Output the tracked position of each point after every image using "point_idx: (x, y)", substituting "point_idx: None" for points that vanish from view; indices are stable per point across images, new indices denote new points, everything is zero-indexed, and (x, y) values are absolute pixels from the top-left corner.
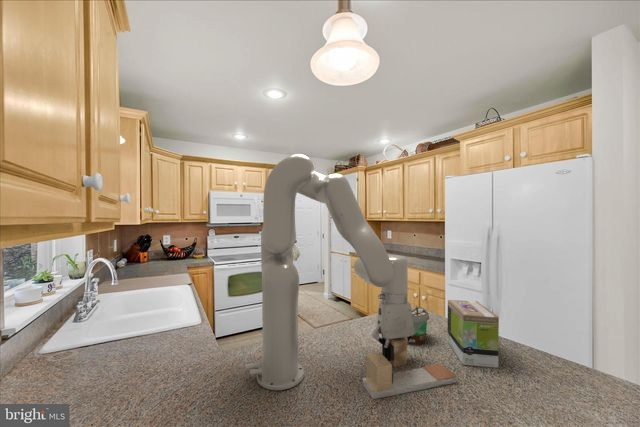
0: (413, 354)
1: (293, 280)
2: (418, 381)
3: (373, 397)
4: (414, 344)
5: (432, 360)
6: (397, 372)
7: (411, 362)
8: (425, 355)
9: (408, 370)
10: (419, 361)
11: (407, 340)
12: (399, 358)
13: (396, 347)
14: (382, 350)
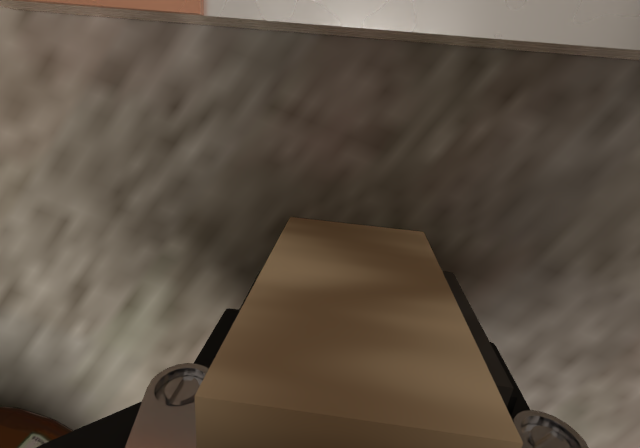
0: (137, 318)
1: None
2: None
3: None
4: (52, 419)
5: (20, 182)
6: (587, 39)
7: (228, 227)
8: (43, 269)
9: (423, 27)
10: (147, 213)
11: (146, 419)
12: (374, 254)
13: (441, 348)
14: None
